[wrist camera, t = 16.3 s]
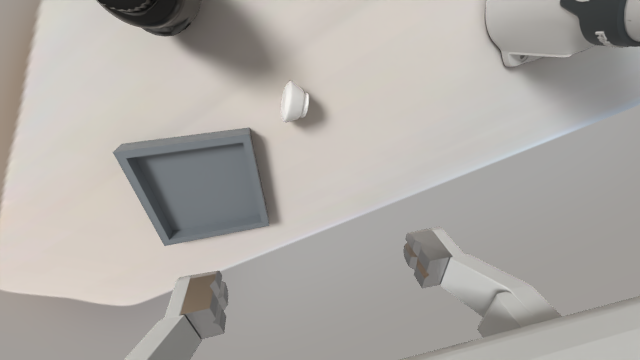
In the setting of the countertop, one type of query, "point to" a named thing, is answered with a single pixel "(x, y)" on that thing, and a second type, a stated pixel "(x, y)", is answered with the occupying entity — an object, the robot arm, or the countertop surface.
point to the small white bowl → (293, 102)
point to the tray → (197, 184)
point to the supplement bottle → (153, 12)
